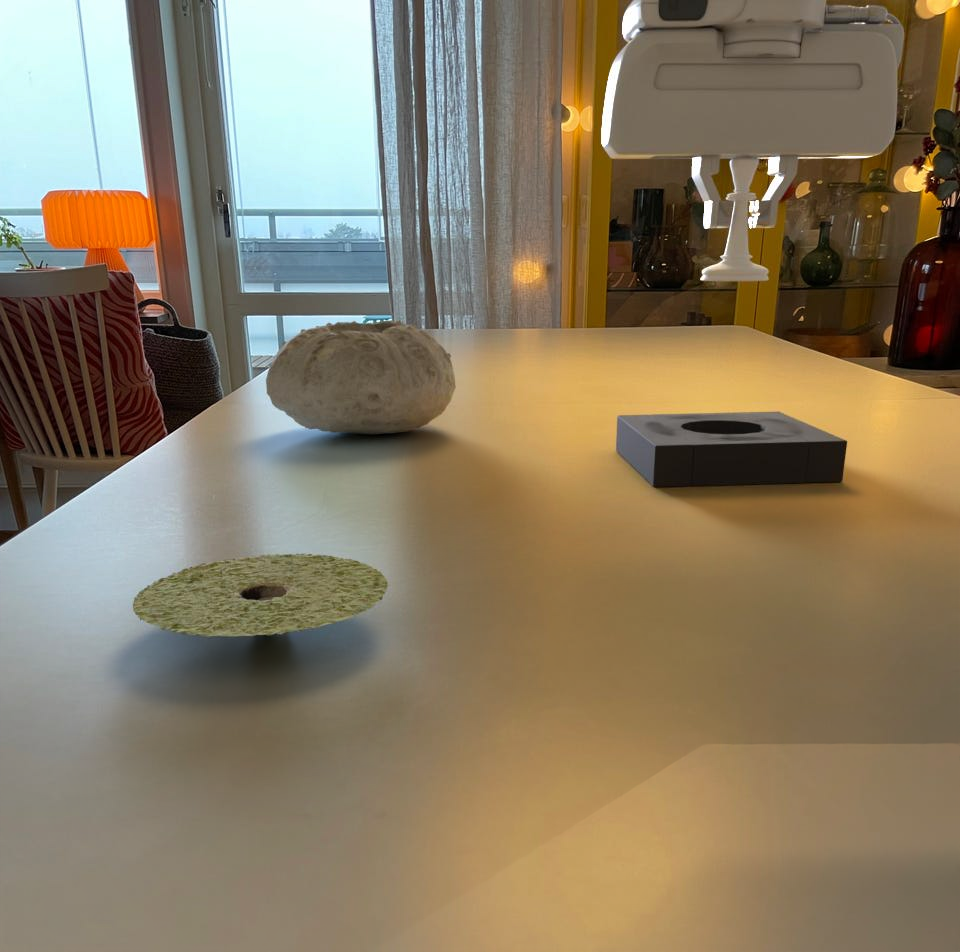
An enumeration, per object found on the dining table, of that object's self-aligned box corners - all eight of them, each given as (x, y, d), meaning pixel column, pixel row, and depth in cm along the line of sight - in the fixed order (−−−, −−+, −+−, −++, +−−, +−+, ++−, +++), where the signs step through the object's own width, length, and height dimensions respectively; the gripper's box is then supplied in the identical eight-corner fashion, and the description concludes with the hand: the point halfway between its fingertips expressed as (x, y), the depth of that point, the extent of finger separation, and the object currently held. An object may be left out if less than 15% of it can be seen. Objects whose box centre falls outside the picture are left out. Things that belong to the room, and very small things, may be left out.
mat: (440, 625, 44) (439, 585, 44) (226, 703, 37) (220, 656, 36) (296, 574, 52) (293, 539, 51) (94, 631, 44) (87, 590, 44)
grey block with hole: (775, 446, 84) (779, 411, 82) (842, 482, 71) (847, 440, 69) (615, 450, 83) (617, 415, 82) (653, 487, 70) (655, 445, 69)
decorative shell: (452, 447, 85) (449, 328, 81) (251, 449, 86) (239, 330, 82) (460, 415, 102) (458, 315, 98) (292, 417, 102) (283, 317, 98)
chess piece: (695, 281, 70) (706, 126, 67) (705, 279, 75) (716, 133, 71) (765, 281, 69) (780, 122, 65) (771, 279, 73) (786, 130, 69)
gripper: (886, 16, 69) (859, 227, 74) (601, 15, 67) (594, 230, 73) (930, -7, 63) (898, 225, 68) (618, -8, 62) (610, 228, 67)
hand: (738, 228), depth 70 cm, fingers closed on chess piece
